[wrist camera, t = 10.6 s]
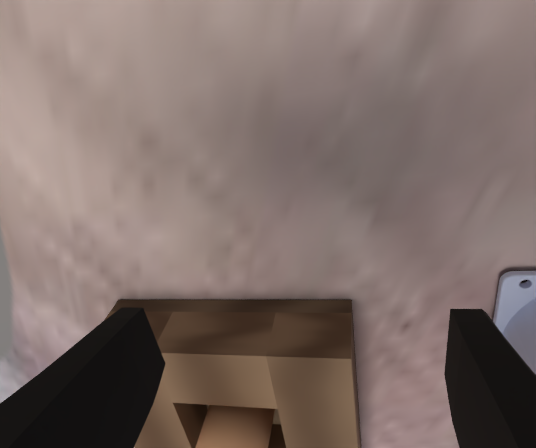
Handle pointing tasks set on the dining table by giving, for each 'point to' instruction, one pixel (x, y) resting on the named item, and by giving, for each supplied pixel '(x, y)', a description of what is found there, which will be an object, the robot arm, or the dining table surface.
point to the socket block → (254, 369)
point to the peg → (236, 427)
